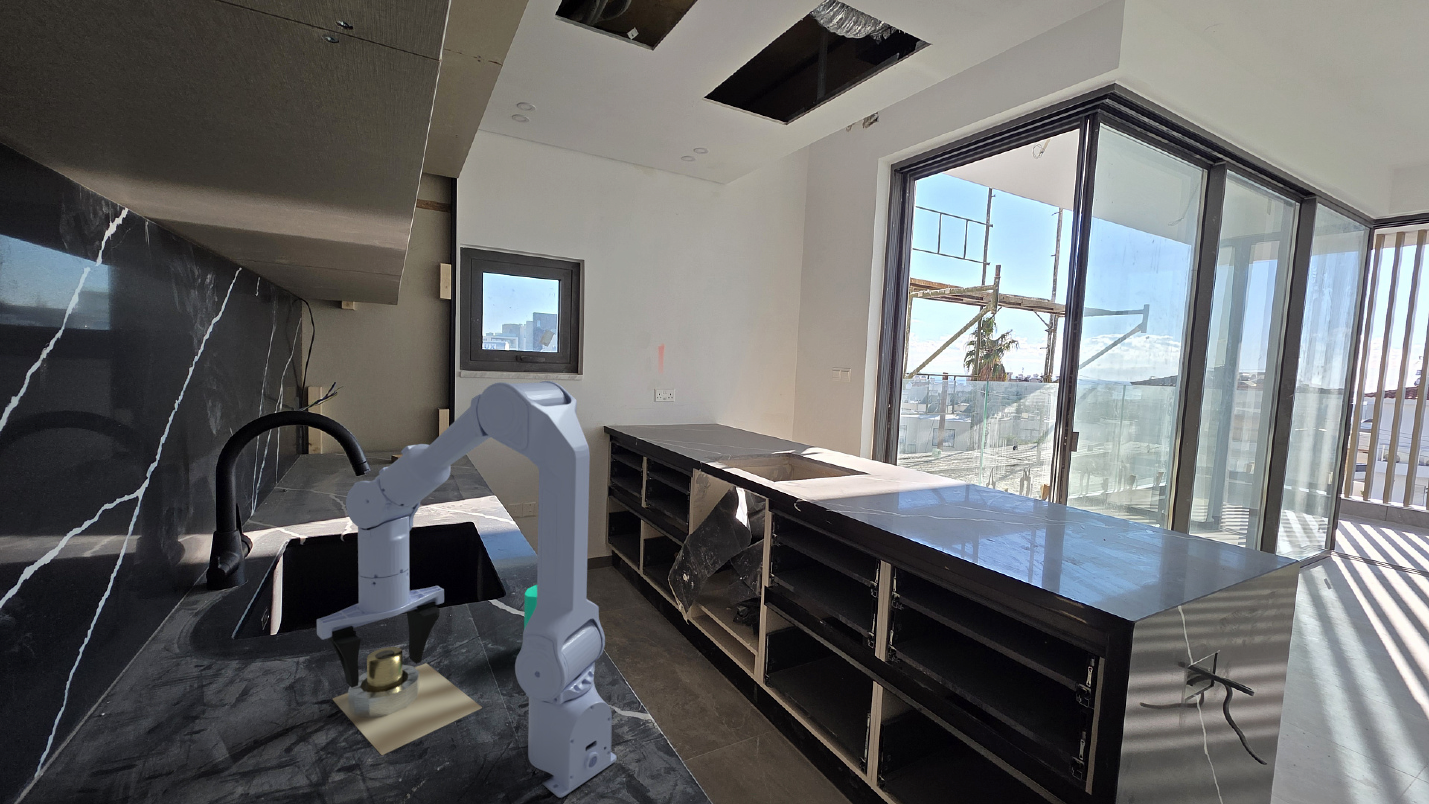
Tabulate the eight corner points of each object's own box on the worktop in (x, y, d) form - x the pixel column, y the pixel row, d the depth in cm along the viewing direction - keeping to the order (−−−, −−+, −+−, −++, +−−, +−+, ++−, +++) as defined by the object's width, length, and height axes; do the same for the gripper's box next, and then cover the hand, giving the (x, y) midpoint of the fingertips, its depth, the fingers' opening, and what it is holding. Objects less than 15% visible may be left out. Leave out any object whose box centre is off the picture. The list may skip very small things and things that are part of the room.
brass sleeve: (407, 698, 75) (407, 653, 74) (374, 712, 72) (374, 665, 71) (394, 686, 77) (394, 643, 77) (362, 699, 74) (361, 654, 74)
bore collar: (428, 697, 75) (428, 679, 75) (363, 725, 69) (363, 706, 69) (403, 675, 80) (403, 658, 80) (340, 700, 74) (340, 681, 74)
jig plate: (482, 715, 74) (482, 707, 73) (381, 763, 64) (381, 755, 64) (426, 669, 84) (426, 663, 84) (332, 706, 74) (332, 698, 74)
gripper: (427, 549, 81) (427, 641, 82) (307, 577, 70) (309, 682, 71) (451, 561, 77) (451, 658, 78) (327, 593, 66) (329, 705, 67)
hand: (385, 671), depth 74 cm, fingers open, 7 cm apart
